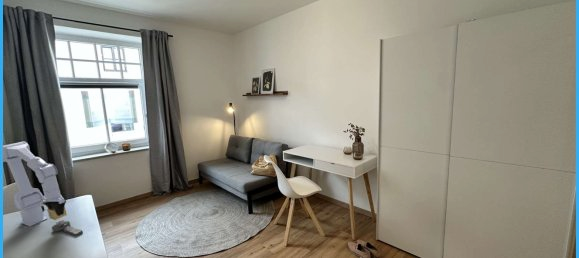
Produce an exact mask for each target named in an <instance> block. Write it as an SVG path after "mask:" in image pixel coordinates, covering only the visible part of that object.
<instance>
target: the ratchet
mask: <svg viewBox="0 0 579 258" xmlns="http://www.w3.org/2000/svg"><path fill="white" fill-rule="evenodd" d="M51 231H52V233H55V234H56V233H61V232H62V233H63V232H64V233H65V234H69V235H72V236H74V237H78V236H80V235H82V234H83V233H84V232H83V230H82V229H78V228H76V227H72V226H71V223H70V221H68V220H67V221H65V220H64V219H62V218H61V219H57V220H55V224H54V225H53V226H51Z"/></svg>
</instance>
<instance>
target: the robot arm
mask: <svg viewBox="0 0 579 258" xmlns="http://www.w3.org/2000/svg"><path fill="white" fill-rule="evenodd" d="M2 146H3V160H1V161H2V162H3V163H4V162H6V163H7V166H8V167H9V170H10V172H11V175H12V177H13V179H14V182H15V184H16V187H17V189H18V192H16V194H15V195H14V196H13V200H14V206H15V207H16V209H18V210H20V212H19V213H20V216H21V219H22V221H21V222H20V224H22V225H26V226H28V227H32V226H34V225H36V224H38V223H41V222H43V221H46V220H48V219H49V218H48V217H47V216H44V213H43V211H42V208H41V205H40V204H42V205H43V204H44V205H45V206H46V208H47V209H48V208H50V207H53V208H54V209H55V211H56V213H57V215H58V216H60V215H62V214H64V206H65V205H66V203H67V199H65V198H64V197H63V196H62V194H61V190H60V186H59V183H58V179H57V175H58V172H59V171H58V169H57V167H56V165H55V164H53V163H47V162H46V161H45V160H44V159H42V158H41V157H39V156H35V155H34V154H33V153H32V152H31V150H30V145H29V144H28V142H26V141H23V140H22V141H19V142H15V143H10V144H5V145H2ZM22 160H23V161H25V162H26V165H27V167H28V168H29V169H31V171H33V172H34V173H35V176H36V177H37V180H38V182H39V183H40V184H41V187H42V191H43V194H44V195H43V194H42V192H41V191H40V189H39V188H36V187H35V188H34V187H32V184H31V182H30V180H29V177H28V175H27V171H26V170H25V167H24V165H23V164H24V163H23V162H22Z"/></svg>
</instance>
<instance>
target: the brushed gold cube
mask: <svg viewBox="0 0 579 258" xmlns="http://www.w3.org/2000/svg"><path fill="white" fill-rule="evenodd" d="M47 214H48V217H49V218H48V219H51V220H54V221H58V220H60V218H61V219H62V218H64V217H65V216H68V214H67V209H66V207H65V206H64V214H62V215H60V216H58V215H57V213H56V211H55V209H54V208H53V207H50V208H48V207H47Z"/></svg>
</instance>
